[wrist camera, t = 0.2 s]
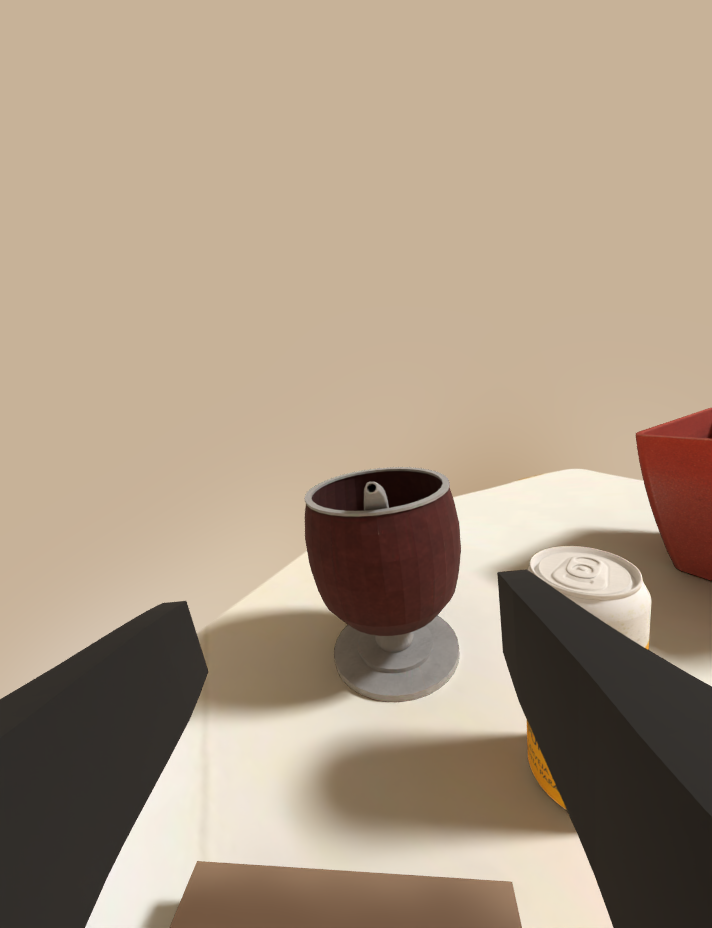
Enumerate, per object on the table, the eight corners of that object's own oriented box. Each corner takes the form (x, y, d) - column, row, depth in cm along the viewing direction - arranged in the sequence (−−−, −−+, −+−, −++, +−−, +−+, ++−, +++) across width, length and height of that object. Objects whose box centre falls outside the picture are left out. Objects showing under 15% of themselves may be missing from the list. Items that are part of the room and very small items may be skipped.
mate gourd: (334, 611, 44) (308, 448, 40) (452, 601, 43) (438, 433, 39) (313, 733, 29) (267, 494, 25) (492, 723, 28) (479, 471, 24)
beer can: (514, 787, 24) (505, 578, 20) (543, 718, 28) (540, 535, 25) (631, 861, 20) (645, 616, 16) (644, 766, 24) (657, 556, 21)
